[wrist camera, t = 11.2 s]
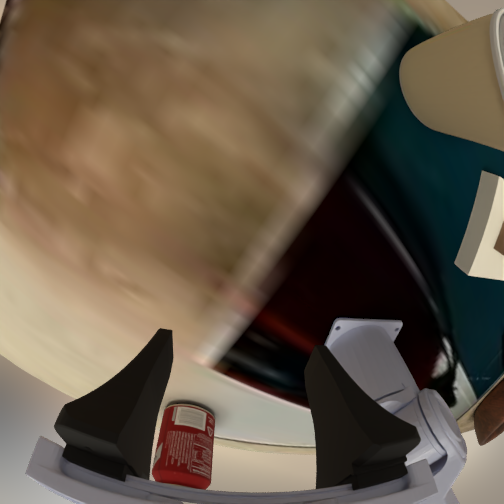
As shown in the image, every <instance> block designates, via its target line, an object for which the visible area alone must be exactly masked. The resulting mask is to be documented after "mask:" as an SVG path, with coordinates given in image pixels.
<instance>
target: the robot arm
mask: <svg viewBox="0 0 504 504" xmlns="http://www.w3.org/2000/svg"><path fill="white" fill-rule="evenodd" d="M402 325H403V323H402V321H401V320H376V319H353V318H337V319H336V320H335V321H334V323H333V325H332V328H331V330H330V333H329V335H328V337H327V340H326V342H325V344H324V345H315V347H314V349H313V352H312V354H311V356H310V359H309V361H308V363H307V366H306V368H305V370H304V374H305V385H306V391H307V396H308V400H309V405H310V409H311V414H312V418H313V423H314V429H315V441H316V465H317V473H316V474H317V475H316V489H314V490H304V491H292V492H273V493H272V492H271V493H246V492H225V491H224V492H223V491H212V490H203V489H195V488H188V487H181V486H175V485H170V484H165V483H160V482H155V481H151V480H149V475H150V464H151V455H152V446H153V440H154V433H155V427H156V422H157V416H158V412H159V409H160V405H161V402H162V399H163V396H164V393H165V390H166V386H167V383H168V380H169V377H170V373H171V368H172V363H173V338H172V330H167V329H162V328H160V329H159V330H158V331H157V332H156V334H155V335H154V336H153V337H152V339H151V340H150V341H149V342H148V344H147V345H146V346H145V347H144V348H143V349H142V350H141V352H140V353H139V354H138V355H137V356H136V357H135V358H134V359H133V360H132V361H131V362H130V363H129V364H128V365H127V366H126V367H125V368H124V369H122V370H121V371H120V372H119V373H118V374H117V375H115V376H114V377H113V378H112V379H110V380H109V381H107V382H106V383H105V384H103V385H102V386H100V387H99V388H97V389H95V390H94V391H92V392H90V393H88V394H87V395H85V396H83V397H81V398H79V399H76V400H74V401H72V402H70V403H67V404H65V405H64V407H63V408H62V410H61V412H60V413H59V416H58V418H57V420H56V422H55V425H54V428H55V430H56V432H57V433H58V434H59V435H60V437H61V438H62V439H63V440H64V441H65V442H66V447H65V448H63V447H62V446H60V445H58V444H56V443H54V442H52V441H50V440H48V439H46V438H44V437H42V436H40V437H39V439H38V442H37V444H36V447H35V449H34V452H33V454H32V457H31V459H30V462H29V465H28V467H27V470H26V473H25V474H26V475H27V476H28V477H29V478H31V479H32V480H34V481H35V482H37V483H38V484H40V485H41V486H43V487H45V488H46V489H48V490H49V491H51V492H53V493H55V494H57V495H59V496H61V497H63V498H65V499H67V500H69V501H72V502H74V503H76V504H183V503H182V502H181V501H183V502H190V503H197V504H459V502H458V500H457V498H456V496H455V494H454V492H453V491H452V489H451V487H452V485H453V484H454V482H455V480H456V479H457V477H458V476H459V474H460V472H461V471H462V469H463V467H464V465H465V463H466V455H467V447H466V443H465V440H464V439H463V437H462V435H461V432H460V429H459V427H458V424H457V422H456V420H455V418H454V416H453V414H452V412H451V411H450V409H449V407H448V406H447V404H446V403H445V401H444V400H443V398H442V397H441V396H440V395H439V394H438V393H437V392H436V391H435V390H430V389H426V388H425V389H423V390H422V391H421V392H420V391H419V389H418V387H417V385H416V383H415V381H414V379H413V377H412V375H411V373H410V372H409V370H408V368H407V366H406V364H405V362H404V360H403V359H402V357H401V355H400V353H399V351H398V350H397V348H396V346H395V344H394V343H393V342H394V340H395V338H396V336H397V335H398V333H399V331H400V329H401V327H402ZM338 326H339V327H338ZM336 327H338V328H336Z"/></svg>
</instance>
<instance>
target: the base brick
mask: <svg viewBox="0 0 504 504" xmlns="http://www.w3.org/2000/svg"><path fill="white" fill-rule="evenodd" d="M503 222H504V179H503V178H501V177H499V176H497V175H494V174H491V173H488V172H485V171H482V174H481V178H480V183H479V187H478V191H477V195H476V199H475V203H474V206H473V210H472V213H471V217H470V220H469V223H468V226H467V229H466V232H465V235H464V238H463V241H462V244H461V247H460V250H459V252H458V255H457V257H456V260H455V263H454V264H455V265H456V266H458V267H459V268H460V269H461V270H462V271H464V272H465V273H466V274H467V275H469V276H476V277H483V278H490V279H498V280H504V255H502V254H501V253H499V252H498V251H496V250H495V249H493V248H494V246H495V243H496V241H497V238H498V236H499V233H500V230H501V227H502V225H503Z"/></svg>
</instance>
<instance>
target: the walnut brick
mask: <svg viewBox="0 0 504 504" xmlns="http://www.w3.org/2000/svg"><path fill="white" fill-rule="evenodd" d="M493 249H495V250H496V251H498V252H499V253H501V254H502V255H504V222H503V225H502V227H501V230H500V233H499V236H498V238H497V241H496V243H495V246H494V248H493Z"/></svg>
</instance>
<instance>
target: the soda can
mask: <svg viewBox="0 0 504 504" xmlns="http://www.w3.org/2000/svg"><path fill="white" fill-rule="evenodd" d="M214 428H215V418H214V416H213V415H212V414H211V413H210V412H209V411H207V410H205V409H203V408H201V407H199V406H196V405H192V404H174V405H170V406H168V407H167V408H166V409H165V410H164V414H163V419H162V423H161V428H160V433H159V438H158V443H157V448H156V453H155V458H154V463H153V469H152V475H153V477H154V479H155V481H156V482H160V483H165V484H170V485H175V486H181V487H188V488H195V489H203V490H206V488H208V486H209V485H210V483H211V472H212V457H213V442H214Z"/></svg>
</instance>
